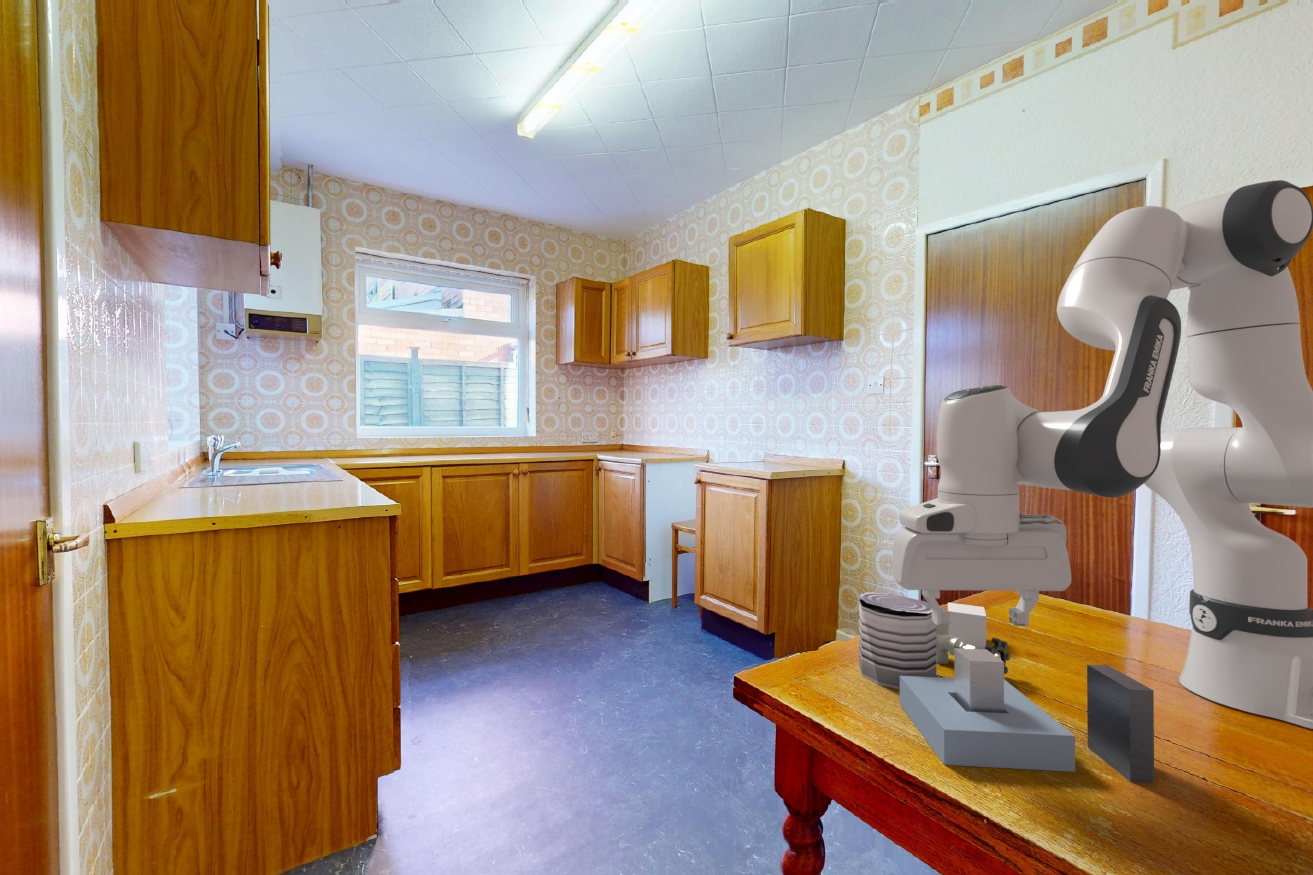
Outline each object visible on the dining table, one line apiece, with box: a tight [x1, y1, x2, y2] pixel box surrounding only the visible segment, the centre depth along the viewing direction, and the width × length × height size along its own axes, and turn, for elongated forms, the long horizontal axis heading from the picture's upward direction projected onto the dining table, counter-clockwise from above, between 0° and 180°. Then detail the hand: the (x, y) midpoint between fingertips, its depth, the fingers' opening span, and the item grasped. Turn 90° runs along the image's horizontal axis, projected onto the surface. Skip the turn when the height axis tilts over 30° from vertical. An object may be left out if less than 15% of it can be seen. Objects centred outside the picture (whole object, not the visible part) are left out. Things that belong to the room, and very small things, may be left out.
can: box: [856, 591, 937, 691], centre depth 85 cm, size 11×11×12 cm
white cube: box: [947, 602, 987, 649], centre depth 99 cm, size 6×6×6 cm
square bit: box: [953, 648, 1005, 713], centre depth 67 cm, size 4×4×10 cm
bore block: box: [899, 676, 1076, 773], centre depth 67 cm, size 14×14×4 cm
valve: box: [936, 625, 1011, 675], centre depth 87 cm, size 7×7×12 cm
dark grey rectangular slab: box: [1086, 664, 1155, 784], centre depth 61 cm, size 2×6×10 cm, turn 175°
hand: (979, 624), depth 67 cm, fingers open, 8 cm apart
